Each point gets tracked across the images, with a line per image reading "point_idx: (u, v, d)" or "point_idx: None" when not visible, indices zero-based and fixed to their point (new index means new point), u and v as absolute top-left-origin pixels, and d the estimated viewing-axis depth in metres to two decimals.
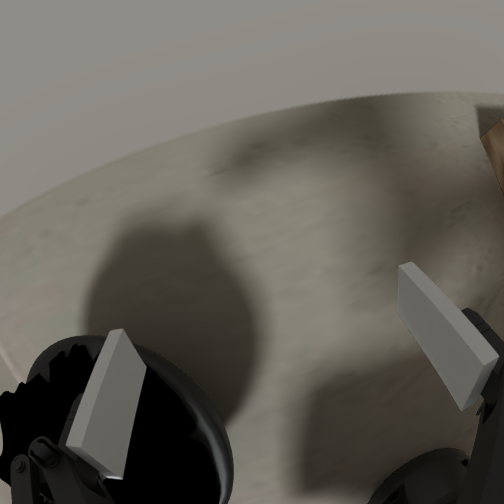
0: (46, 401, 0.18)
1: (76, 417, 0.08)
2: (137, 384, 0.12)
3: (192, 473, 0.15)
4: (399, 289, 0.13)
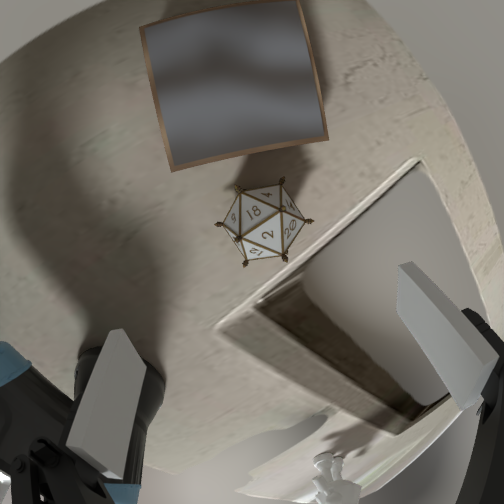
0: None
1: (76, 417, 0.08)
2: (137, 384, 0.12)
3: None
4: (399, 289, 0.13)
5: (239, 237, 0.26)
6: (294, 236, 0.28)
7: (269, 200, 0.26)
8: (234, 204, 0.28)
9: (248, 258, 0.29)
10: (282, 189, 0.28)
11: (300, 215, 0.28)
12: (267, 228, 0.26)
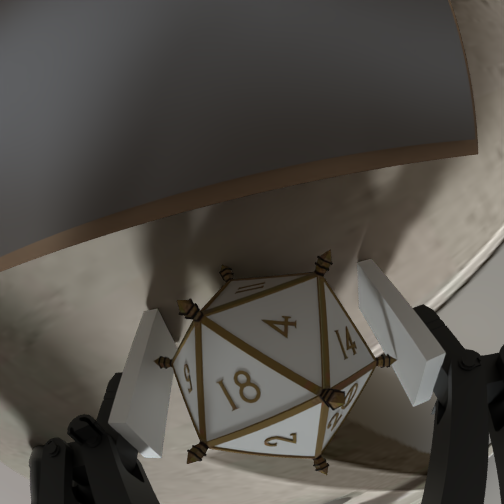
0: None
1: (117, 394, 0.09)
2: None
3: None
4: (359, 285, 0.14)
5: (201, 451, 0.08)
6: (348, 410, 0.09)
7: (289, 351, 0.08)
8: (187, 341, 0.09)
9: None
10: (325, 292, 0.10)
11: (367, 355, 0.10)
12: (280, 431, 0.08)
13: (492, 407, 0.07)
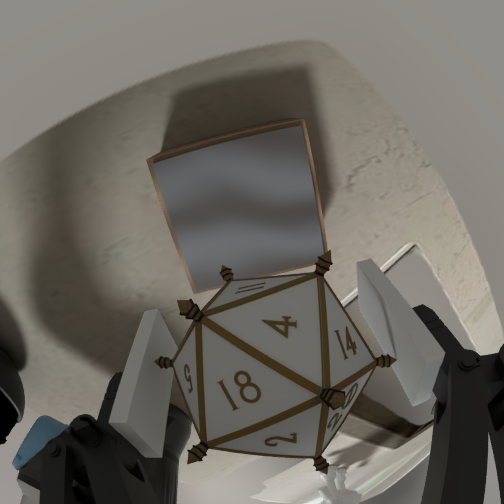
0: None
1: (118, 393, 0.09)
2: None
3: None
4: (359, 285, 0.14)
5: (201, 451, 0.08)
6: (348, 410, 0.09)
7: (289, 351, 0.08)
8: (188, 341, 0.09)
9: None
10: (325, 292, 0.10)
11: (367, 355, 0.10)
12: (281, 431, 0.08)
13: (492, 407, 0.07)
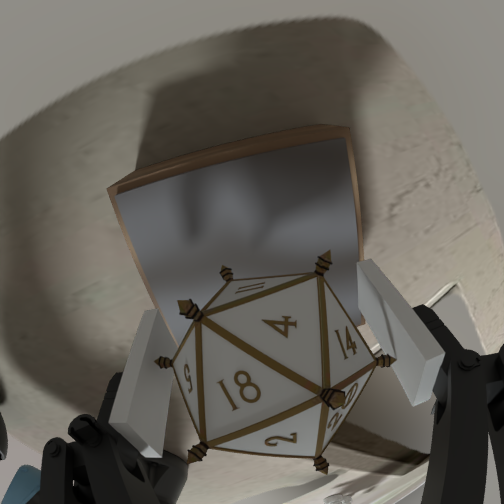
0: None
1: (118, 393, 0.09)
2: None
3: None
4: (359, 285, 0.14)
5: (201, 451, 0.08)
6: (348, 410, 0.09)
7: (289, 351, 0.08)
8: (187, 341, 0.09)
9: None
10: (325, 292, 0.10)
11: (367, 355, 0.10)
12: (281, 431, 0.08)
13: (491, 407, 0.07)
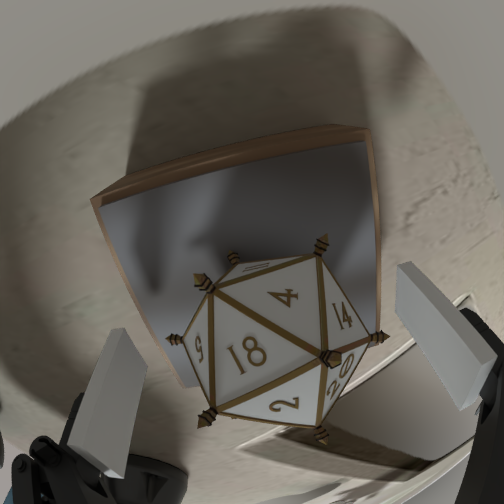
0: None
1: (77, 416, 0.08)
2: (138, 383, 0.12)
3: None
4: (398, 289, 0.13)
5: (211, 416, 0.09)
6: (346, 382, 0.11)
7: (291, 319, 0.09)
8: (199, 314, 0.11)
9: None
10: (323, 270, 0.11)
11: (362, 330, 0.11)
12: (284, 394, 0.09)
13: None
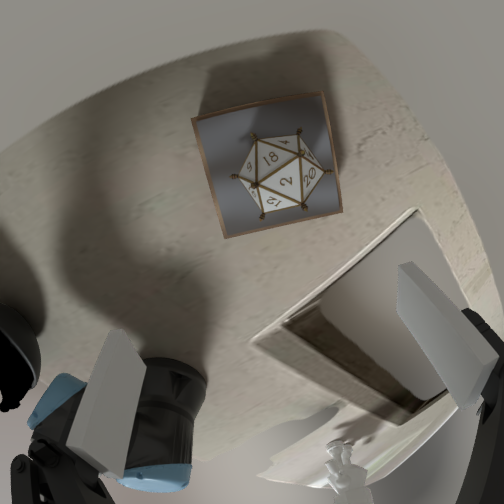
0: None
1: (76, 417, 0.08)
2: (137, 384, 0.12)
3: (12, 362, 0.35)
4: (399, 289, 0.13)
5: (256, 183, 0.24)
6: (314, 186, 0.25)
7: (287, 146, 0.24)
8: (250, 153, 0.25)
9: (265, 211, 0.27)
10: (300, 138, 0.26)
11: (319, 165, 0.26)
12: (285, 174, 0.24)
13: None
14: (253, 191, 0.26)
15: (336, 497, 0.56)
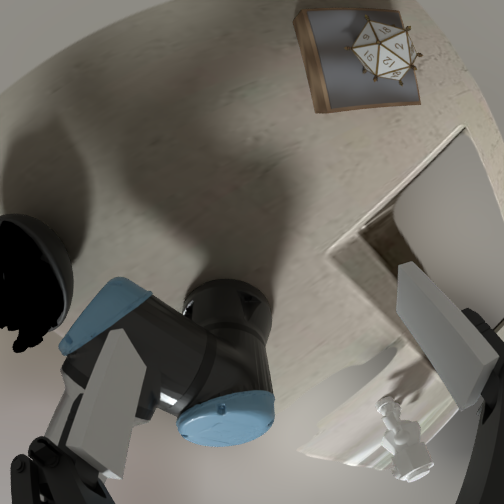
0: None
1: (76, 417, 0.08)
2: (137, 384, 0.12)
3: (41, 280, 0.32)
4: (399, 289, 0.13)
5: (379, 41, 0.22)
6: (414, 58, 0.24)
7: (393, 27, 0.22)
8: (364, 29, 0.24)
9: (378, 73, 0.25)
10: None
11: None
12: (398, 41, 0.22)
13: None
14: (370, 54, 0.24)
15: (395, 457, 0.53)
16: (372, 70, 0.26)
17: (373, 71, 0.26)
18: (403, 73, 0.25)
